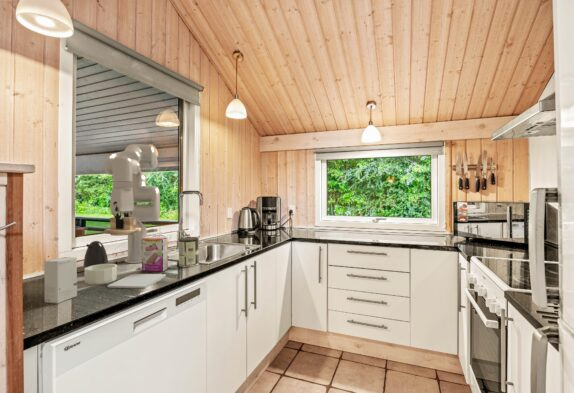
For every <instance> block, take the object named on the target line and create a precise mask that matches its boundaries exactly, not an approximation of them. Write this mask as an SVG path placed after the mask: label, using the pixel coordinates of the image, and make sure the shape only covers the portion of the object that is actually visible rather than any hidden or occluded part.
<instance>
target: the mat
mask: <svg viewBox="0 0 574 393" xmlns="http://www.w3.org/2000/svg"><path fill="white" fill-rule="evenodd" d="M165 277H167V274H164V273H160V274H158V273H132V274H129V275H127V276H125V277H123V278H120V279H117V281H116V280H115V281H113V282H111V283H110V284H108V285H107V288H112V289H143V290H144V289H147V288H148V287H150V286H152V285H154V284H155V283H157V282H159V281H160V280H162V279H163V278H165Z"/></svg>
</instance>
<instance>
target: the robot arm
mask: <svg viewBox="0 0 574 393" xmlns="http://www.w3.org/2000/svg"><path fill="white" fill-rule="evenodd" d="M158 165H159V164H158V156H157V153H156V149H155V148H154V146H153V145H151V144H140V143H138V144H137V143H132V144H129V145H127V146H126V147H125V149H124V150H123V151H122V150H121V151H118V152H115V153H111V154H109V155H108V156H107V157H106V158H105V161H104V164H103V168H104V171H105V173H106V174H107V175H109V176H110V175H111V176H112V189H111V191H110V192H111V193H110V201H109V202H110V204H109V210H110V213H111V214H112V215H113V217H115V220H116V229H123V228H124V222H123V219H122V218H123V217H136V227H139V228H141V231H140V232H136V233H135V234H132V235H127V258H125V259H124V262H125V264H142V238H144V237H148V236H147V234H148V233H147V232H148V231H147V227H146V226H145V225H144V224H143V222H156V221H158V220H160V217H161V191H160V189H159V187H158V186H155V185H147V177H146V175H145V174H144V173H143V172H142V171H141V170H151V171H152V170H155V169H157V167H158ZM135 203H143V204H135ZM144 203H148V204H144Z"/></svg>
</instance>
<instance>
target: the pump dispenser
mask: <svg viewBox="0 0 574 393" xmlns="http://www.w3.org/2000/svg"><path fill="white" fill-rule="evenodd" d="M86 248H87V249H86V251H85V252H84V253H85V254H84V258H83V266H82V267H83V268H84V269H85V268H86V267H89V266H93V265H98V264H109V258H108V254H107V250H106V249H105V246H104V244H103V243H102V242H101V241H99V240H93V241H91V242H90V243H89V244H88V243H87V244H86Z"/></svg>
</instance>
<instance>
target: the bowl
mask: <svg viewBox="0 0 574 393" xmlns="http://www.w3.org/2000/svg"><path fill="white" fill-rule="evenodd" d="M116 280H117V281H118V264H116V263H108V264H98V265H93V266H89V267H86V268H84V284H85V285H91V286H98V285H104V284H109V283H110V284H111V283H114V282H116Z"/></svg>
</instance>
